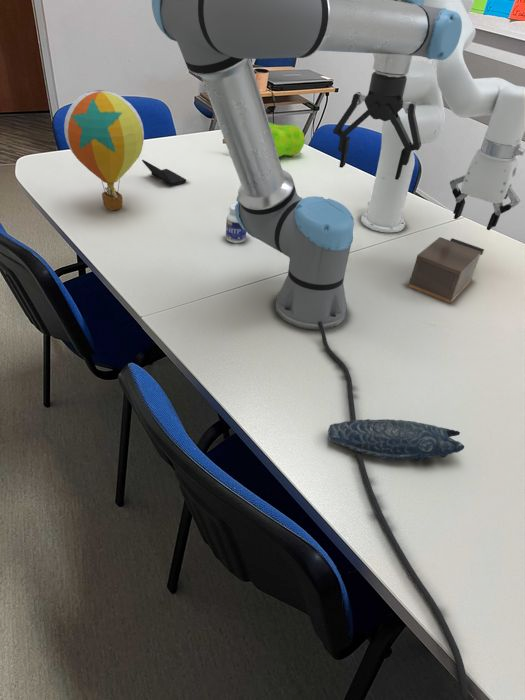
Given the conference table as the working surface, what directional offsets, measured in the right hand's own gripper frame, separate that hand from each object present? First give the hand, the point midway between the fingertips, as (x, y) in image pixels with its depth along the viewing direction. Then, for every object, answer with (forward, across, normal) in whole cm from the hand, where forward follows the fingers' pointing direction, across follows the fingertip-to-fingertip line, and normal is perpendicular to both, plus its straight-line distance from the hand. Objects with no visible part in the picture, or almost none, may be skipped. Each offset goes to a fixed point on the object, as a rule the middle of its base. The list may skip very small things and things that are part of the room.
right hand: (473, 222), depth 126 cm
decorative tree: (+12, +85, -28) cm, 91 cm away
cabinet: (+12, 0, +12) cm, 17 cm away
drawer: (+11, 0, +6) cm, 13 cm away
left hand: (-8, +24, +11) cm, 28 cm away
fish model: (+12, -15, +67) cm, 70 cm away
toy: (+12, +86, +40) cm, 95 cm away
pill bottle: (+12, +50, +30) cm, 59 cm away
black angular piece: (+12, +92, +15) cm, 94 cm away
